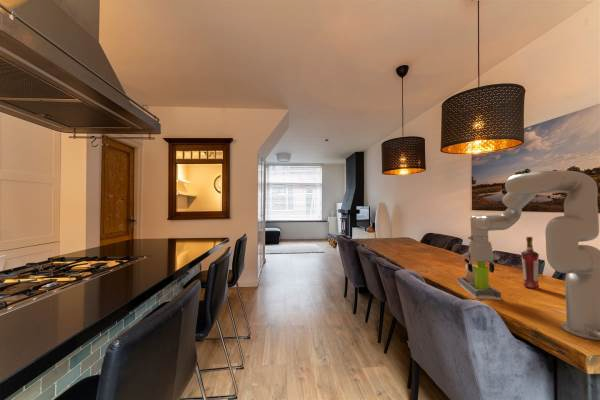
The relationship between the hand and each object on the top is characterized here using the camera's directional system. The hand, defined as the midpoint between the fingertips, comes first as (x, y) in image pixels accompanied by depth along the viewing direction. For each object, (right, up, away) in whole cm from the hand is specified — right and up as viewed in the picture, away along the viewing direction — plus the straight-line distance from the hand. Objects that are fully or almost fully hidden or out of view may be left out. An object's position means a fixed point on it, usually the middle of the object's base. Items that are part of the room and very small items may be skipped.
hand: (480, 271), depth 138 cm
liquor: (+34, -11, +8) cm, 36 cm away
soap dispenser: (+1, -11, 0) cm, 11 cm away
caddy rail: (+1, -12, +5) cm, 13 cm away
